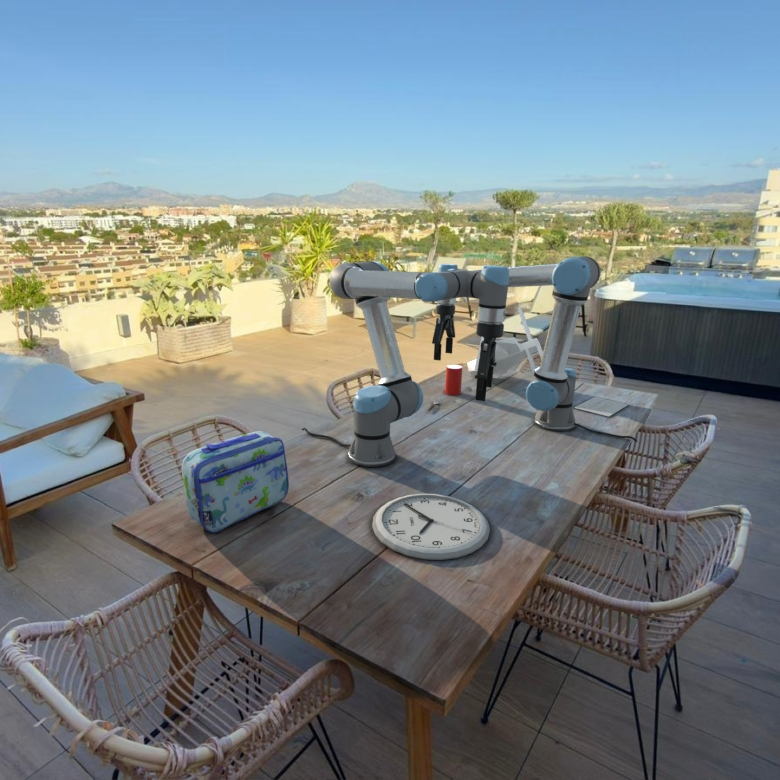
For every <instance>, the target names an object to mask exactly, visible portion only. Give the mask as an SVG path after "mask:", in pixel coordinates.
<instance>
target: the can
mask: <svg viewBox="0 0 780 780" xmlns="http://www.w3.org/2000/svg"><path fill="white" fill-rule="evenodd" d="M462 378H463V365H459V364H447V365H446V367H445V385H444V386H445V387H444V394H446V395H449V396H459V395H461V394H462V380H463V379H462Z"/></svg>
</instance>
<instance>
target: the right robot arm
mask: <svg viewBox="0 0 780 780" xmlns="http://www.w3.org/2000/svg"><path fill="white" fill-rule="evenodd" d="M458 267H459V266H458V264H456V263H441V264H439V265H438V267H437V272H447V271H448V270H449V269H459V268H458ZM507 268H508V269H509V285H508V288H524V287H545V286H547V287H548V286H553V288H552V293H551V296H552V298H553V299H554V305H553V309H552V313H551V318H550V322H549V326H548V330H547V335H546V339H545V344H544V347H543V356H542V360H541V359H540V365H539V366H538V367H536V369H535V371H534V375H533V374H532V375H533V376H532V380H531V382H530V383H529V384H528V386H527V387H526V389H525V398H526V401H527V402H528V404H529V405H530V407H532V408H533V409H535V410H537V411H536V413H535V417H534V424H535V425H536V426H537V427H539V428H542V429H544V430H549V431H556V432H567V431H572V430H574V429H575V428H576V426H577V427H578V428H582V429H583V430H585V431H588V432H591V433H593V434H594V433H595V434H599V435H605V436H609V437H615V438H620V439H631V440H633V441H634V442H636V443H638V440H637V438H635V437H634V436H631V435H619V434H615V433H609V432H604V431H599V430H594V429H591V428H588V427H586V426H583V425H582V424H578V423H576V418H575V417H576V416H575V413H574V407H573V405H574V398H575V390H576V383H577V379H578V378H577V371H576V370H575V369H573V368H571V367H567V363H568V359H569V355H570V351H571V348H572V343H573V339H574V334H575V332H576V327H577V323H578V320H579V316H580V311H581V307H582V305H583V304H585V303H587V302H588V299H589V295H590V291H591V289H593V287H595V286H596V285H597V284H598V282H599V280H600V278H601V274H602V271H601V266H600V264H599V262H597V260H596V259H594V258H593V257H591V256H586V255H584V256H571V257H567V258H565V259H563V260H561V261H559V262H558V263H551V264H537V265H524V266H511V267H507ZM473 271H476V272H481V271H482V269H475V270H474V269H473ZM456 303H457V298H453V299H445V300H439V301H436V305H435V314H436V315H439V317H438V318H436V320H435V327H434V331H433V335H432V339H431V340H432V341H431V344H433V345H434V346H433V361H440V362H441V360H442V341H443V340H442V339H443V337H444V334H445V333H446V337H445V350H444V351H445V354H449V355H452V354H453V346H454V345H453V344H454V338H455V339H456V329H455V321H454V320H455V319H454V318H455V317H454V316H455V314H456V305H455V304H456Z"/></svg>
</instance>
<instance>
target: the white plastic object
mask: <svg viewBox="0 0 780 780" xmlns="http://www.w3.org/2000/svg"><path fill="white" fill-rule="evenodd" d="M517 311H518V314H519V318H520V319H521V323H522V326H523V328H524V329H523V330H524V332H525V335H526V338H527V341H524V342H522V343H521V342H519V341H517V338H516V337H515V336H513V337H508V338H504V339H499V340H496V349H495V363H496V366H493V367H494V369H493V376H494V375H498V376H501V375H504V374H507V373H508V372H509V370H510V369H512V368H513V367H514V366H516V365H518V364H519V363H520V362H521V361H523V360H525V359H526V357H527V360H528V363H529V367H530V369H531V372H532V375H534V371H535V369H536V368H537V367H536V365H535V361H534V358H533V355H532V354H535V353H537V352H538V355H539V358H540V361H541V360H542V356H543V352H544V350H543V348H542V346H541V343H540V340H539V339H538V338H537V337H535V338H533V337H532V334H531V331H530V328H529V325H528V322H527V319H526V316H525V313H524V312H523V309H522V307H521V306H519V307H517ZM482 341H484V337H481V338H480V342H479V346H478V347H479V348H478V351H477V355H476V358H475V359H473V360H470V361H468V362H466V365H467V369H468V373H469V374H470V375H471V376H472V377H473V378H475V375H477V371H478V365H479V358H480V351H481V342H482ZM483 375H484V374H483Z"/></svg>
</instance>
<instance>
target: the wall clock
mask: <svg viewBox="0 0 780 780" xmlns="http://www.w3.org/2000/svg"><path fill="white" fill-rule="evenodd" d="M371 527H372V530H373V533H374V535H375V537H376V538H377V539H378V540H379V541H380V543H381V544H383V545H385V546H386V547H387V548H389V549H390V550H392V551H393V552H397V553H399V554H402V555H404V556H406V557H411V558H416V559H421V560H433V561H435V560H437V561H443V560H444V561H445V560H451V559H452V560H453V559H458V558H461V557H465V556H468V555H470V554H473V553H474V552H476V551H477V550H479V549H481V548H482V547H483V546H484V545H485V543H486V542H487V541H488V540H489V536H490V532H491V528H490V524H489V521H488V519H487V518H486V516H485V515H484V514H483V512H481V511H480V510H479V509H477V508H476V507H475V506H473V505H472V504H470V503H468V502H466V501H464V500H461V499H459V498H455V497H452V496H449V495H444V494H437V493H416V494H407V495H404V496H399V497H396V498H395V499H392V500H390V501H388V502H386V503H385V504H383V505H382V506H381V507H379V508H378V509H377V511H376V512H375V513H374V515H373V517H372V524H371Z"/></svg>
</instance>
